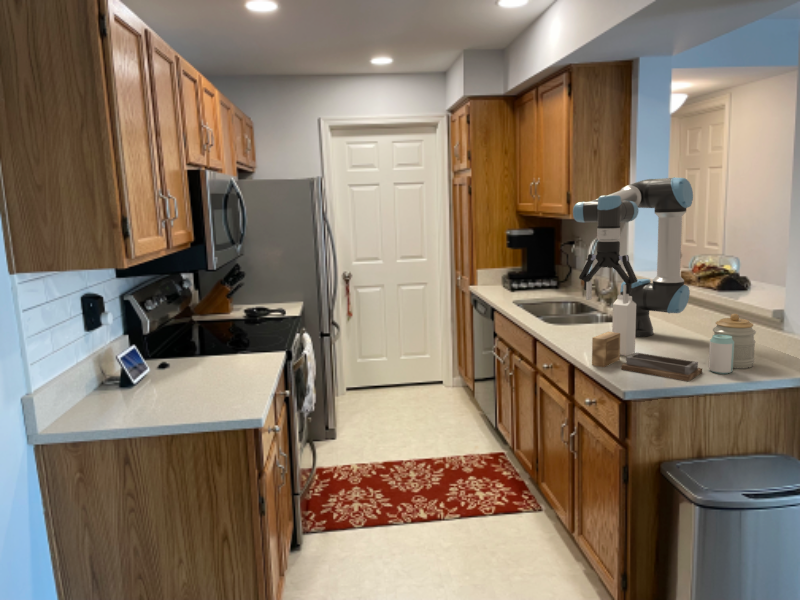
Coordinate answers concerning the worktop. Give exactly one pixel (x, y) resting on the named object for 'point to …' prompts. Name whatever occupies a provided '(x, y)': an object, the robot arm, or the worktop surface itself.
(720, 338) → the can
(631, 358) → the wooden tray
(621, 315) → the milk
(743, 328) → the jar
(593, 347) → the tan wooden block
